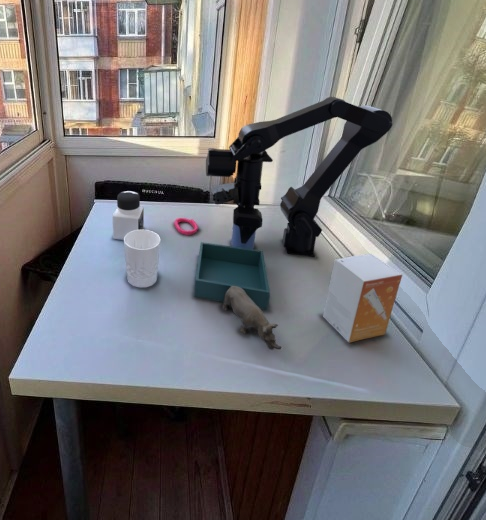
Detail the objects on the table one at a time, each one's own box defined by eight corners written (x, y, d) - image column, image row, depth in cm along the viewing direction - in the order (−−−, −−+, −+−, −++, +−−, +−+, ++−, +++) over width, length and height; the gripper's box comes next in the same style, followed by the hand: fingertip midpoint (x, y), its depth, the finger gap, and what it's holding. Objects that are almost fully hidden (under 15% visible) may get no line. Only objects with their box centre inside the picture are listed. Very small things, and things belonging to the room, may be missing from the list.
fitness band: (201, 234, 91) (201, 229, 91) (181, 236, 90) (181, 232, 90) (190, 220, 99) (190, 215, 99) (171, 222, 98) (171, 217, 97)
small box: (348, 344, 58) (363, 281, 54) (321, 316, 63) (333, 258, 60) (386, 335, 59) (403, 274, 55) (356, 309, 65) (370, 252, 61)
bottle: (253, 241, 88) (257, 204, 85) (254, 253, 83) (259, 214, 80) (231, 238, 90) (234, 202, 86) (231, 250, 84) (234, 211, 81)
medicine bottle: (138, 242, 88) (138, 201, 84) (112, 239, 89) (111, 198, 86) (143, 228, 95) (143, 189, 91) (119, 225, 96) (118, 187, 92)
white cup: (164, 272, 76) (165, 234, 73) (151, 294, 69) (152, 253, 66) (133, 263, 79) (133, 226, 76) (118, 283, 72) (117, 244, 69)
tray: (260, 266, 78) (262, 250, 77) (267, 310, 65) (270, 292, 64) (199, 257, 82) (200, 241, 80) (194, 297, 68) (195, 280, 67)
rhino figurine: (268, 367, 54) (272, 337, 52) (217, 307, 66) (220, 282, 64) (287, 358, 55) (292, 329, 53) (234, 302, 67) (237, 277, 65)
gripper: (216, 162, 91) (212, 213, 96) (213, 188, 74) (208, 249, 79) (258, 165, 89) (252, 217, 93) (266, 194, 71) (258, 256, 76)
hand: (242, 233), depth 85 cm, fingers open, 9 cm apart
